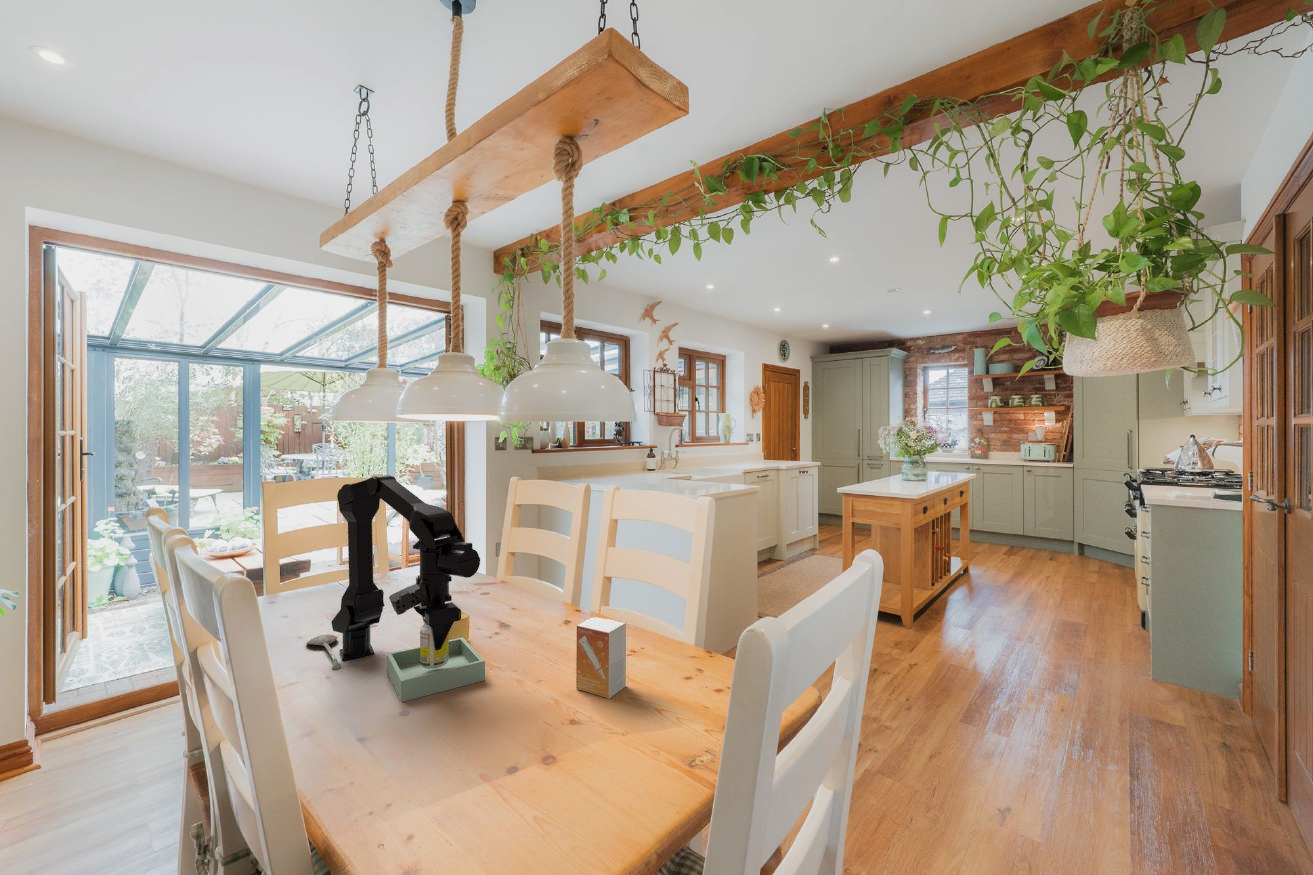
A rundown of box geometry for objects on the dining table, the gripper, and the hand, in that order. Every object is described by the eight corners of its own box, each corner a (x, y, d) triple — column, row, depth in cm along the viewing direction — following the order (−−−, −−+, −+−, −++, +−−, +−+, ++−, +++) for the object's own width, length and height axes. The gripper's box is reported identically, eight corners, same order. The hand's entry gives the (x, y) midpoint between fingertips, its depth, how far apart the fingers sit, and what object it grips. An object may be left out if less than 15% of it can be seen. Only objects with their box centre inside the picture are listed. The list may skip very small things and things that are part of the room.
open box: (386, 671, 117) (386, 653, 117) (462, 654, 127) (462, 637, 127) (401, 701, 104) (401, 681, 104) (484, 680, 114) (484, 660, 113)
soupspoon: (335, 640, 138) (304, 648, 134) (334, 627, 138) (303, 634, 134) (353, 666, 121) (318, 676, 117) (352, 651, 121) (317, 660, 117)
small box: (575, 689, 109) (575, 624, 109) (594, 677, 115) (594, 615, 115) (609, 699, 105) (609, 632, 105) (626, 686, 111) (626, 622, 111)
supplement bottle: (451, 658, 119) (451, 611, 118) (444, 669, 113) (444, 619, 113) (425, 659, 118) (424, 611, 118) (416, 670, 112) (416, 620, 112)
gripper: (384, 567, 118) (384, 639, 118) (401, 587, 103) (401, 670, 103) (438, 560, 125) (438, 628, 125) (462, 578, 109) (462, 656, 110)
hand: (434, 645), depth 115 cm, fingers closed on supplement bottle, 5 cm apart
